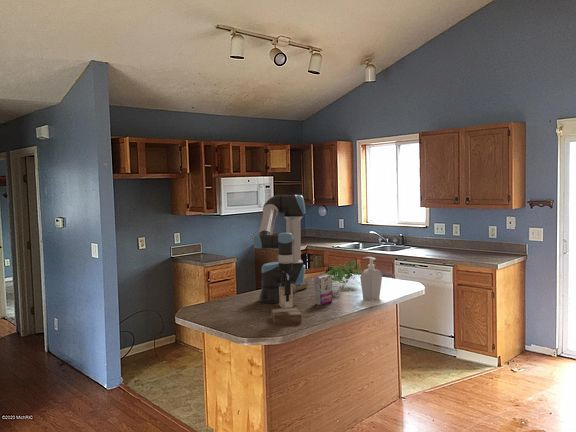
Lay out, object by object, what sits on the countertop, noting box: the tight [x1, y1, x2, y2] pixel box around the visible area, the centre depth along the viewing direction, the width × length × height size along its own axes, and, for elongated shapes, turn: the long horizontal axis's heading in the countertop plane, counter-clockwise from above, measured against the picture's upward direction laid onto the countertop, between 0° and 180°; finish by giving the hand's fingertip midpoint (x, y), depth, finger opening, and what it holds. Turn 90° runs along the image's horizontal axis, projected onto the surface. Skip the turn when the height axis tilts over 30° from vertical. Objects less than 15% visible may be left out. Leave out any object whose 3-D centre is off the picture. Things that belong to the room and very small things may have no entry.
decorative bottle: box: [290, 278, 309, 293], centre depth 337 cm, size 26×8×7 cm, turn 147°
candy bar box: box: [314, 274, 333, 306], centre depth 304 cm, size 11×5×16 cm, turn 137°
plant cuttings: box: [325, 260, 361, 291], centre depth 339 cm, size 35×17×22 cm
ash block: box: [278, 286, 294, 309], centre depth 269 cm, size 6×6×10 cm
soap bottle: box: [359, 256, 383, 301], centre depth 314 cm, size 12×10×26 cm
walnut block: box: [270, 307, 302, 326], centre depth 270 cm, size 14×14×5 cm
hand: (285, 305), depth 269 cm, fingers closed on ash block, 6 cm apart
